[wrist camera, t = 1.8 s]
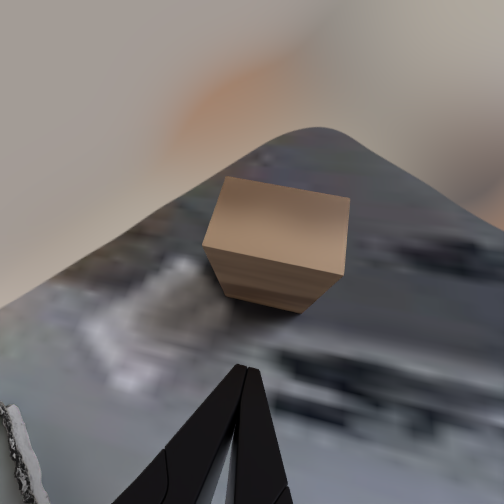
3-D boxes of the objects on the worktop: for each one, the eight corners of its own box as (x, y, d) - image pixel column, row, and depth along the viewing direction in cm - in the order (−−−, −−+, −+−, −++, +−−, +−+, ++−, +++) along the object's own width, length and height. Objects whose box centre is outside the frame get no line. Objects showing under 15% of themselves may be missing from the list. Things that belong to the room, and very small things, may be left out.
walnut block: (301, 313, 21) (343, 275, 11) (225, 296, 22) (201, 245, 12) (308, 264, 23) (350, 193, 13) (238, 249, 24) (227, 172, 14)
